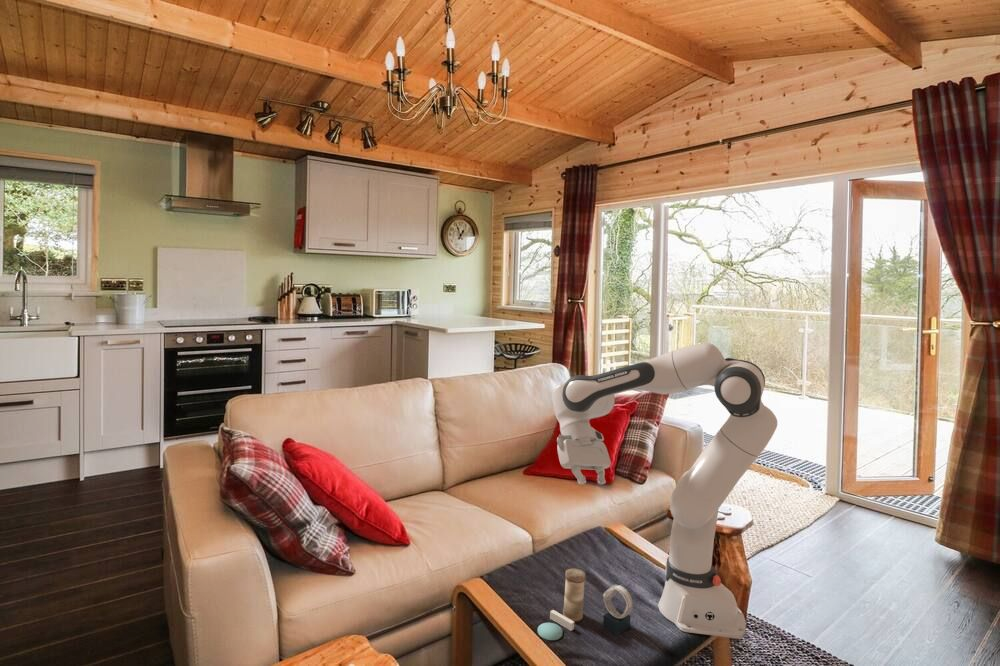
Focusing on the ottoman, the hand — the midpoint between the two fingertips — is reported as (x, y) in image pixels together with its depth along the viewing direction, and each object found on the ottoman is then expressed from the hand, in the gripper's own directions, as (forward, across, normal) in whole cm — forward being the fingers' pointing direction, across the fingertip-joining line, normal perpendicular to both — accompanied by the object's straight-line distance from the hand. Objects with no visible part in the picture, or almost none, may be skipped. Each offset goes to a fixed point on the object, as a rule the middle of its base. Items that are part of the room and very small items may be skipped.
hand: (592, 483), depth 158 cm
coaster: (+32, -11, +19) cm, 39 cm away
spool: (+30, -1, +18) cm, 35 cm away
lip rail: (+31, -6, +19) cm, 37 cm away
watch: (+35, +4, +9) cm, 37 cm away
